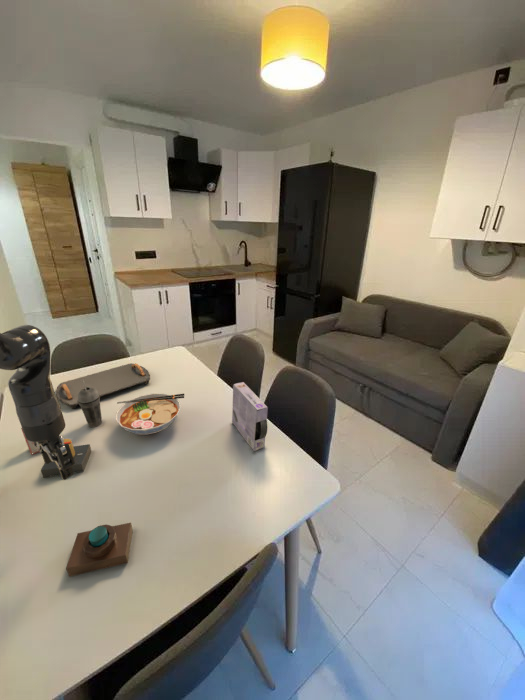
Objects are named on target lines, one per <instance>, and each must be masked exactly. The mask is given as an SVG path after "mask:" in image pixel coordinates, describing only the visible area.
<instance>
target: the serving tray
mask: <svg viewBox="0 0 525 700" xmlns="http://www.w3.org/2000/svg"><path fill="white" fill-rule="evenodd" d="M82 379H83V381H84V384H85V387H86V388H87V387H91V388H94V389H96V390H97V391H98V393H99V395H100V398H101V397H103V396H106V395H110V394H113V393H117V392H120V391H122V390H125V389H129V388H132V387H134V386H137V385H140V384H145V385H148V384H149V382H150V380H151V374H150V372H149V369H146V367H144V366H142V365H140V364H139V363H126V364H122V365H119V366H116V367H112V368H109V369H105V370H101V371H98V372H94V373H91V374H87V375H84V376H80V377H77V378H74V379H70V380H67V381H63V382H60V383H59V384H58V385H57V387H56V389H55V395H56V397H57V399H58V401H59V402H61V403H62V404H64V405H66V406H69V407H70V408H71V409H72V410H74V409H76V408H77V405H79V403H78V401H77V400H78V399H77V397H78V394H79V392H80V391H81V390H82V389H84V386H83V383H82Z"/></svg>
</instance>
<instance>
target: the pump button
mask: <svg viewBox="0 0 525 700" xmlns="http://www.w3.org/2000/svg"><path fill="white" fill-rule="evenodd" d="M98 526H99V527H98ZM98 526H96V527H94V528H95V529H94V528H93V529H91V530H92V531H91V530H90V531H91V533H90V534H89V540H90V543H91V546H93V547H99V546H101V545H103V544H104V543H105V542H106V541H107V539H108V533H107V530H106V528H105V527H104V526H101V525H98Z"/></svg>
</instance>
